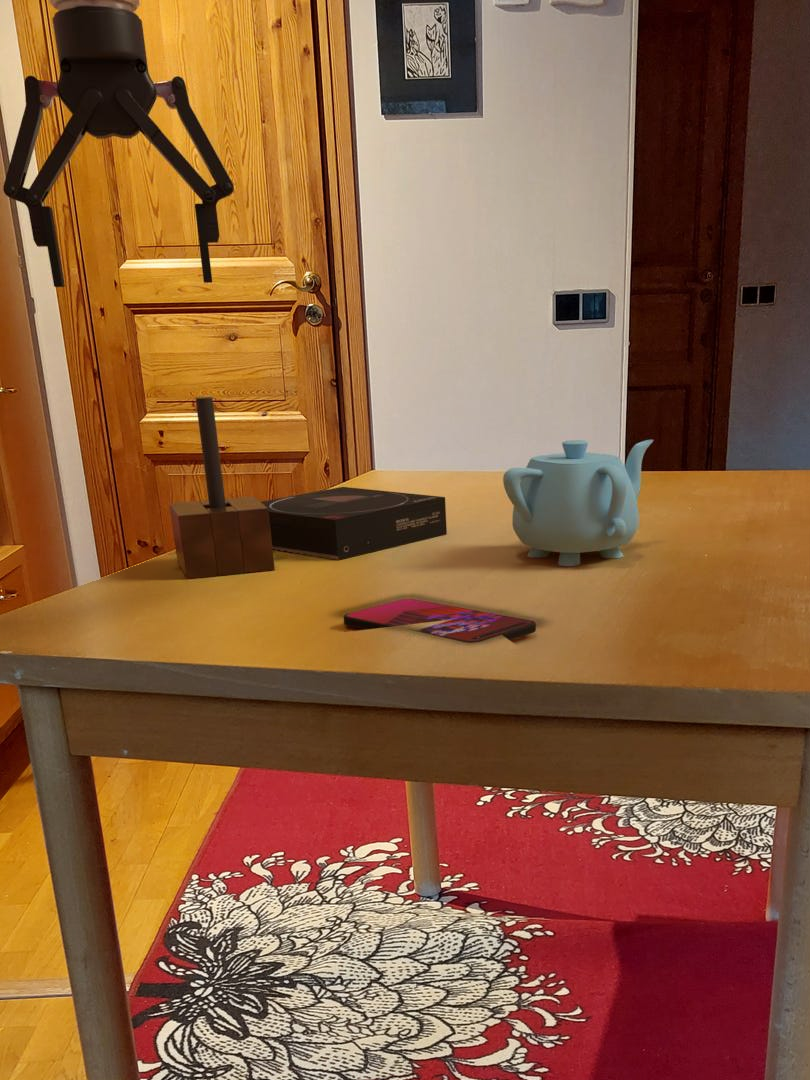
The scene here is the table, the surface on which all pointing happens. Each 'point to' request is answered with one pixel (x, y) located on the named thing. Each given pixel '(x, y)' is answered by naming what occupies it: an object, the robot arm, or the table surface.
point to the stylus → (210, 452)
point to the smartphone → (459, 627)
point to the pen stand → (222, 537)
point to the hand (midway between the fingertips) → (134, 285)
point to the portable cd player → (353, 521)
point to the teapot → (576, 502)
